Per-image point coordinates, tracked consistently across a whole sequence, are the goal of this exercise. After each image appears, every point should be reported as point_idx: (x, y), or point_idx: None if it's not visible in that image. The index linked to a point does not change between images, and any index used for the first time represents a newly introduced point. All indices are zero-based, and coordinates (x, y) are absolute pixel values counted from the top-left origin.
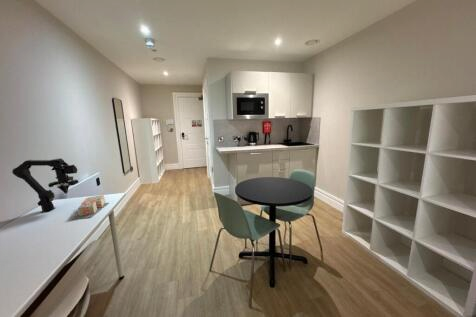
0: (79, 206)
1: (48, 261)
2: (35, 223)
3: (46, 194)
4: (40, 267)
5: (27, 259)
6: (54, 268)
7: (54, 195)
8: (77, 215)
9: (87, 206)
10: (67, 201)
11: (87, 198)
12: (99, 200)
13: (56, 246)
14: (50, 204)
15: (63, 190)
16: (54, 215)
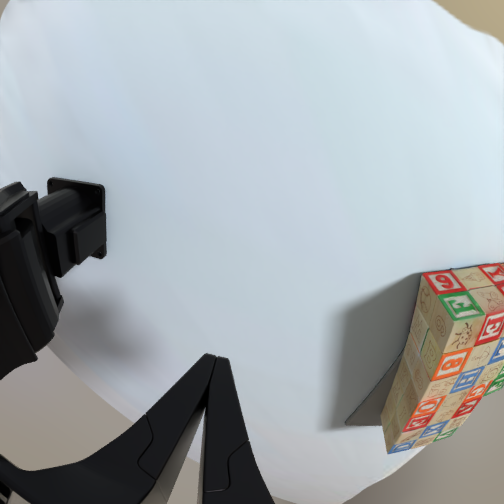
0: (396, 442)
1: (337, 494)
2: (162, 390)
3: (7, 369)
4: (329, 497)
5: (296, 491)
6: (350, 497)
7: (15, 240)
8: (368, 405)
9: (430, 442)
10: (126, 24)
11: (461, 339)
12: (497, 389)
13: (338, 483)
14: (70, 253)
15: (185, 457)
16: (203, 347)
